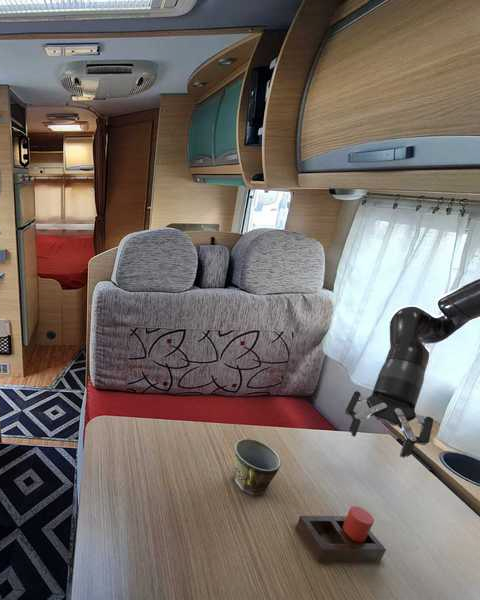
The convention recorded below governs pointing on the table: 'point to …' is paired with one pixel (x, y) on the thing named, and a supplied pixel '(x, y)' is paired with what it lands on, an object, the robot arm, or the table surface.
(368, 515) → the red cylinder
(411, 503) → the table surface
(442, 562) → the table surface
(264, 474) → the ceramic cup
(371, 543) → the two-compartment tray
